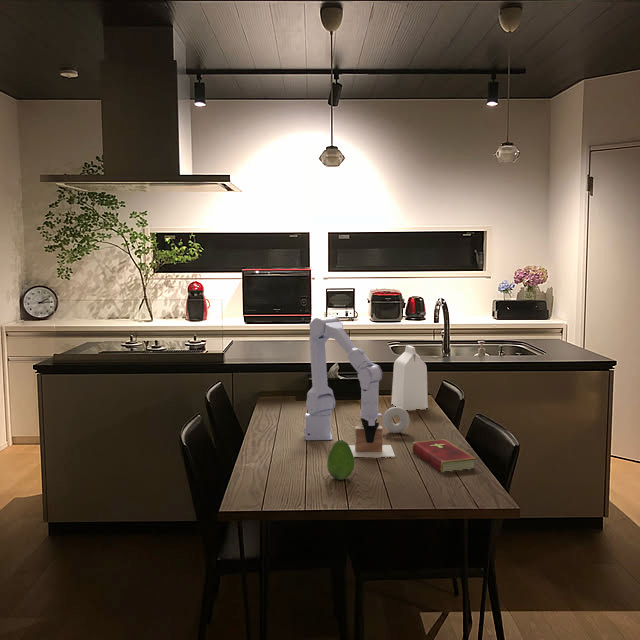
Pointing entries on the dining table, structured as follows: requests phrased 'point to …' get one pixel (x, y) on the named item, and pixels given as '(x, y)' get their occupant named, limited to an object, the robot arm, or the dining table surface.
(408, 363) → the milk
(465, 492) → the dining table surface
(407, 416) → the donut
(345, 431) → the dining table surface
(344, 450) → the fruit
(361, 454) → the mat
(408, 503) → the dining table surface
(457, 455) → the hardcover book
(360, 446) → the tan wooden block
